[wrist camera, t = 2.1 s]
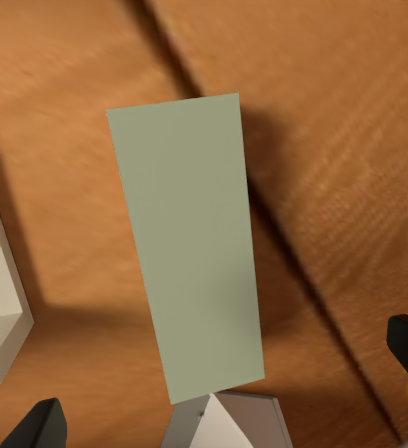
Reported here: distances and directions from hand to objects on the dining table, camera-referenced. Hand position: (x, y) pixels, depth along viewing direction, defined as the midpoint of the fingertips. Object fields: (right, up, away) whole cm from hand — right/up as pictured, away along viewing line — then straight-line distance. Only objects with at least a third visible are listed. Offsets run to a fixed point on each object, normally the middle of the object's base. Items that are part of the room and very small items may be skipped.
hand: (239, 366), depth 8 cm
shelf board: (-2, +3, +9) cm, 10 cm away
